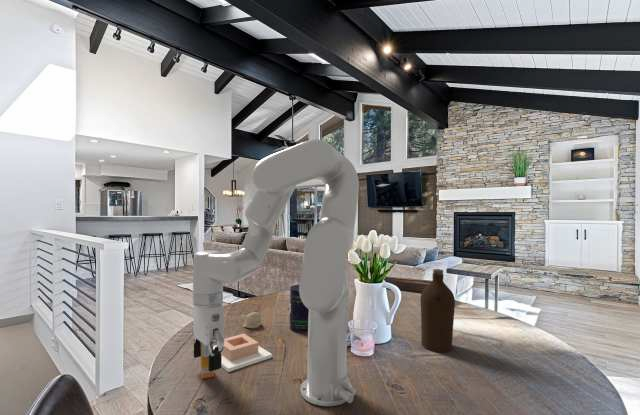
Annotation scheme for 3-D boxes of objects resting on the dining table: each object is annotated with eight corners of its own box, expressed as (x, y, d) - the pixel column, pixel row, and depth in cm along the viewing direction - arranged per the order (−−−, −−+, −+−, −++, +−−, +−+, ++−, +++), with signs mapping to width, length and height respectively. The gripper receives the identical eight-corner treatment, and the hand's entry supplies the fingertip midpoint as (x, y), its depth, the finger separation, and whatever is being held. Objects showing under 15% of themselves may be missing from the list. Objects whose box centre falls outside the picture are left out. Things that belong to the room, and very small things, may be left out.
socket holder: (271, 357, 101) (272, 344, 101) (228, 372, 91) (228, 357, 91) (245, 340, 113) (245, 328, 113) (204, 352, 103) (204, 339, 103)
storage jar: (285, 331, 121) (286, 289, 121) (294, 322, 131) (294, 283, 131) (312, 334, 119) (313, 292, 119) (319, 324, 128) (319, 285, 128)
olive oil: (461, 351, 107) (462, 272, 107) (431, 354, 104) (432, 273, 104) (441, 338, 117) (442, 266, 117) (413, 341, 115) (415, 267, 114)
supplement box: (199, 373, 91) (200, 336, 90) (213, 371, 92) (213, 334, 92) (200, 379, 87) (200, 340, 87) (214, 377, 89) (214, 339, 89)
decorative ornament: (264, 326, 127) (264, 311, 127) (243, 330, 121) (243, 315, 121) (258, 322, 130) (259, 308, 130) (238, 327, 125) (238, 312, 125)
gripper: (236, 303, 85) (235, 370, 86) (208, 289, 98) (207, 348, 99) (207, 308, 80) (206, 380, 81) (181, 293, 93) (180, 355, 94)
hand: (207, 362), depth 90 cm, fingers open, 9 cm apart
